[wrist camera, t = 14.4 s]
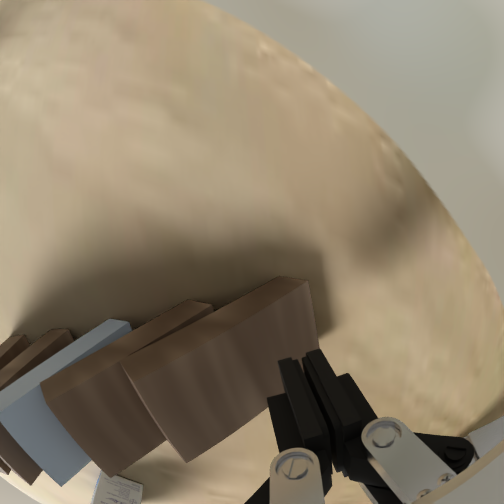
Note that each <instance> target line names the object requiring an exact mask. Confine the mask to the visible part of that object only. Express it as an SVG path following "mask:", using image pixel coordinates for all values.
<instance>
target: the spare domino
mask: <svg viewBox="0 0 504 504" xmlns="http://www.w3.org/2000/svg"><path fill="white" fill-rule="evenodd" d="M131 331H133V330H132V328H131V326H130V323H129V322H127V321H121V320H115V319H108V320H107V321H105V322H103V323H102V324H100V325H99V326H97V327H96V328H94V329H93V330H91V331H90V332H88V333H87V334H85V335H83V336H82V337H80V338H79V339H77V340H76V341H74V342H73V343H71V344H70V345H68V346H67V347H65V348H64V349H62V350H61V351H59V352H58V353H56V354H55V355H53V356H52V357H50V358H49V359H47V360H46V361H44V362H43V363H41V364H40V365H38V366H37V367H35V368H34V369H32V370H31V371H29V372H28V373H26V374H25V375H24V376H22V377H21V378H19V379H18V380H16V381H15V382H13V383H12V384H10V385H9V386H7V387H6V388H5V389H3V390H2V391H0V422H1V423H2V424H3V426H4V427H5V428H6V429H7V431H8V432H9V433H10V434H11V436H12V437H13V438H14V439H15V440H16V442H17V443H18V444H19V445H20V446H21V447H22V448H23V450H24V451H25V452H26V453H27V454H28V455H29V456H30V457H31V458H32V459H33V460H34V461H35V462H36V463H37V464H38V465H39V466H40V467H41V468H42V469H43V470H44V471H45V472H46V473H47V474H48V475H49V476H50V477H51V478H52V479H53V480H54V481H55V482H56V483H57V484H59V485H60V486H61V487H62V486H63V485H64V484H65V483H66V482H67V481H68V480H70V479H71V478H72V477H73V476H74V475H75V474H77V473H78V472H79V471H80V470H81V469H82V468H83V467H84V466H86V465H87V464H88V463H89V462H90V461H91V460H92V459H91V458H90V457H89V456H88V455H87V454H86V453H85V452H84V451H83V449H82V448H81V447H80V446H79V445H78V444H77V443H76V441H75V440H74V439H73V438H72V437H71V435H70V434H69V433H68V432H67V431H66V429H65V428H64V427H63V426H62V424H61V423H60V422H59V420H58V419H57V418H56V416H55V415H54V414H53V412H52V411H51V410H50V408H49V407H48V405H47V404H46V402H45V399H44V396H43V393H42V390H41V386H40V382H42V381H43V380H45V379H47V378H49V377H51V376H52V375H54V374H56V373H58V372H60V371H62V370H63V369H65V368H67V367H69V366H71V365H72V364H74V363H76V362H78V361H80V360H81V359H83V358H85V357H87V356H89V355H90V354H92V353H94V352H96V351H98V350H99V349H101V348H103V347H105V346H107V345H108V344H110V343H112V342H114V341H115V340H117V339H119V338H121V337H123V336H124V335H126V334H128V333H130V332H131Z"/></svg>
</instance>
